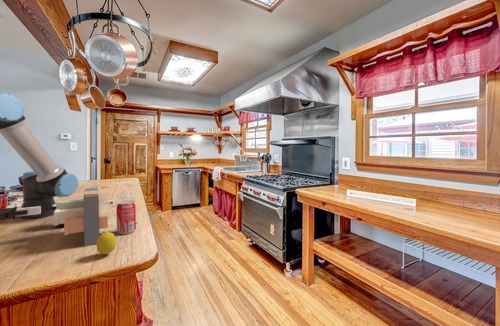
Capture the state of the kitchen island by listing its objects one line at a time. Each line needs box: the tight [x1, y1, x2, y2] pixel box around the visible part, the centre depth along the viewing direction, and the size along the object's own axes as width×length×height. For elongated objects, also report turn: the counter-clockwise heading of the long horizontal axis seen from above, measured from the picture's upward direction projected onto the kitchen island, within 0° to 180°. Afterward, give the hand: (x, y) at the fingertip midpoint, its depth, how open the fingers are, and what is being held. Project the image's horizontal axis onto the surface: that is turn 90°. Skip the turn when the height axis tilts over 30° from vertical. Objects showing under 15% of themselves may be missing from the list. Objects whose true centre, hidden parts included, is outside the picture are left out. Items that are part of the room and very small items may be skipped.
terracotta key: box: [63, 213, 109, 236], centre depth 84 cm, size 5×13×5 cm, turn 125°
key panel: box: [83, 187, 100, 247], centre depth 91 cm, size 20×4×19 cm, turn 35°
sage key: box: [55, 198, 84, 210], centre depth 93 cm, size 5×13×5 cm, turn 125°
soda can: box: [115, 200, 137, 235], centre depth 96 cm, size 7×7×13 cm
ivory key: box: [53, 207, 84, 227], centre depth 88 cm, size 5×13×5 cm, turn 125°
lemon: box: [96, 230, 117, 256], centre depth 75 cm, size 6×6×8 cm
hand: (40, 210), depth 87 cm, fingers closed
